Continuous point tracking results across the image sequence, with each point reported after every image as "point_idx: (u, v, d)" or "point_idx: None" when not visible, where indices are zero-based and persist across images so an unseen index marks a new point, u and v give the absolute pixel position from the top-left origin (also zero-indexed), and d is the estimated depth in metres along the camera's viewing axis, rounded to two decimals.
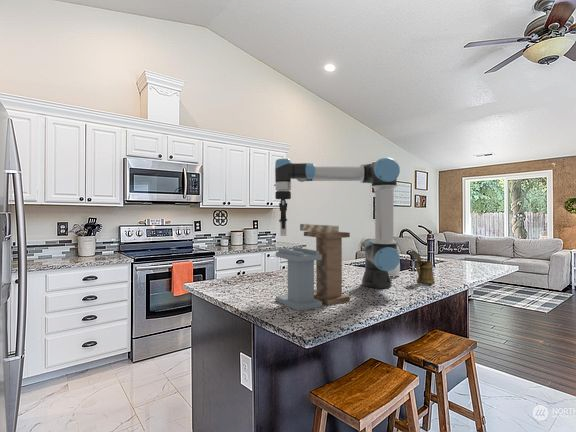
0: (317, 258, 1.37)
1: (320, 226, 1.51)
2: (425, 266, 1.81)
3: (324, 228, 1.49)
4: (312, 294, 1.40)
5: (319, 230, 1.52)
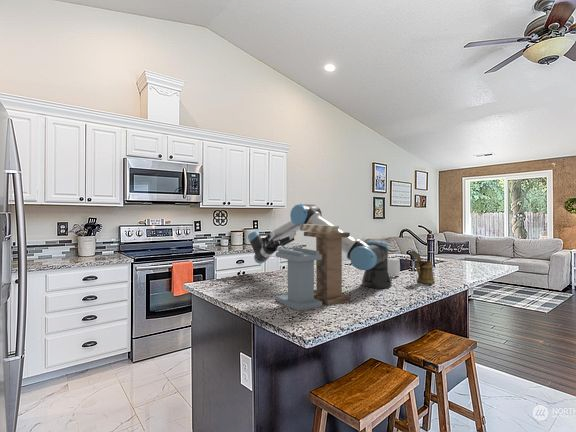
0: (317, 258, 1.37)
1: (320, 226, 1.51)
2: (425, 266, 1.81)
3: (324, 228, 1.49)
4: (312, 294, 1.40)
5: (319, 230, 1.52)
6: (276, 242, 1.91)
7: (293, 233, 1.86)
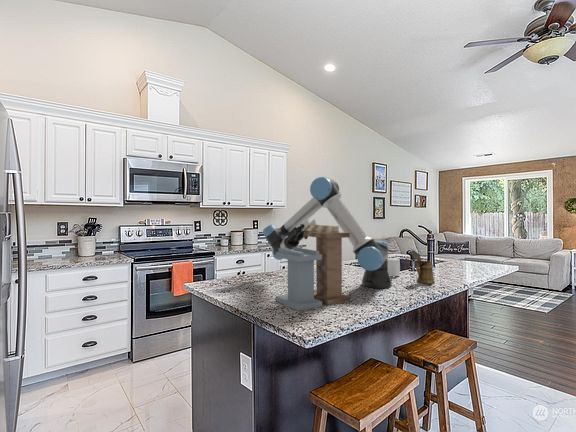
0: (317, 258, 1.37)
1: (320, 226, 1.51)
2: (425, 266, 1.81)
3: (324, 228, 1.49)
4: (312, 294, 1.40)
5: (319, 230, 1.52)
6: (299, 235, 1.71)
7: (313, 223, 1.62)
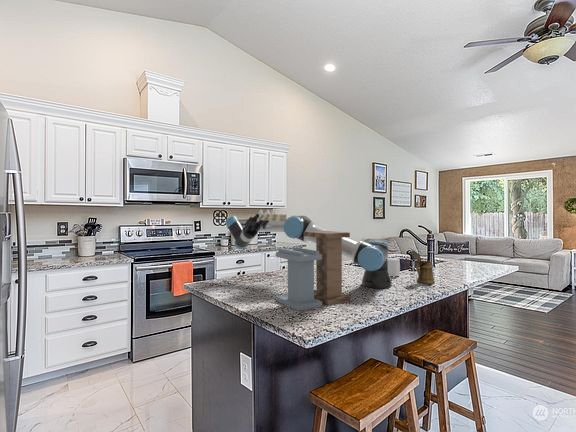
0: (317, 258, 1.37)
1: (271, 215, 1.60)
2: (425, 266, 1.81)
3: (274, 217, 1.57)
4: (312, 294, 1.40)
5: (270, 219, 1.61)
6: (256, 225, 1.79)
7: (267, 213, 1.70)
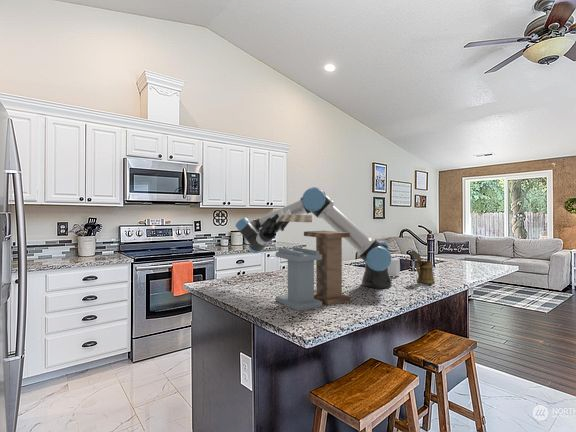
0: (317, 258, 1.37)
1: (293, 215, 1.43)
2: (425, 266, 1.81)
3: (297, 218, 1.40)
4: (312, 294, 1.40)
5: (292, 220, 1.43)
6: (274, 227, 1.62)
7: (287, 213, 1.53)
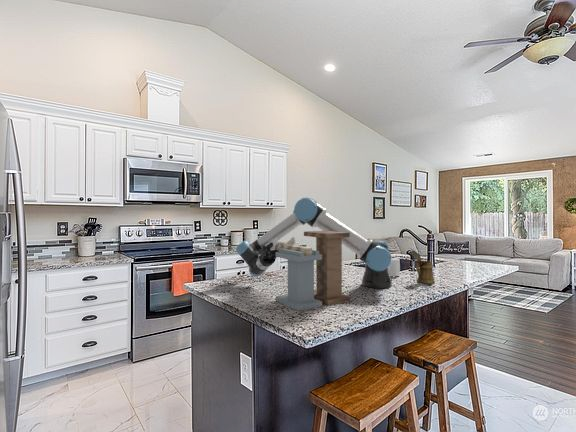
0: (317, 258, 1.37)
1: (294, 247, 1.43)
2: (425, 266, 1.81)
3: (298, 250, 1.40)
4: (312, 294, 1.40)
5: None
6: (274, 252, 1.62)
7: (292, 241, 1.55)
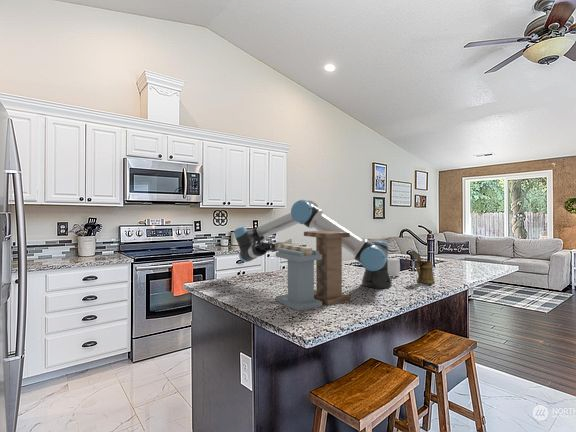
0: (317, 258, 1.37)
1: (294, 247, 1.43)
2: (425, 266, 1.81)
3: (298, 250, 1.40)
4: (312, 294, 1.40)
5: None
6: (267, 245, 1.74)
7: (288, 242, 1.69)
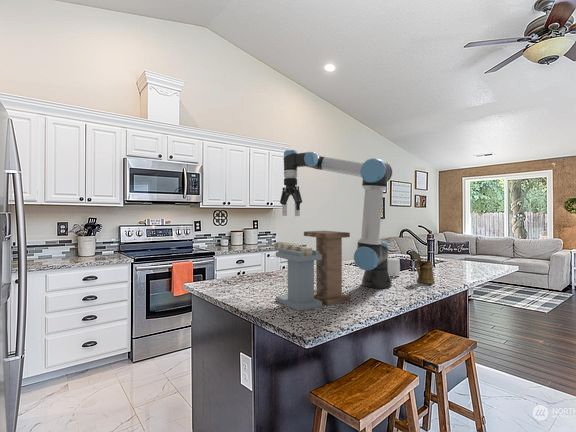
0: (317, 258, 1.37)
1: (294, 247, 1.43)
2: (425, 266, 1.81)
3: (298, 250, 1.40)
4: (312, 294, 1.40)
5: None
6: (289, 194, 1.88)
7: (284, 213, 1.94)
